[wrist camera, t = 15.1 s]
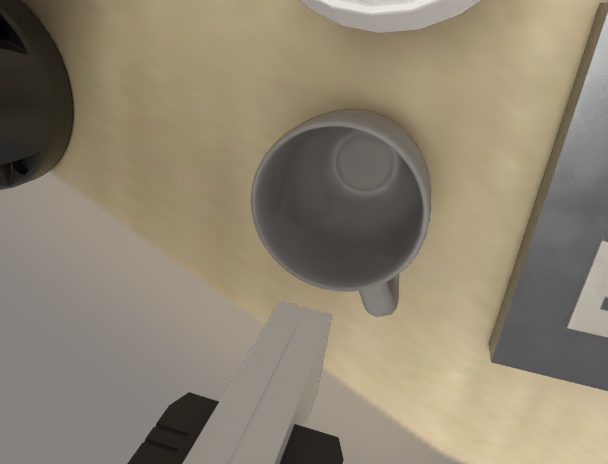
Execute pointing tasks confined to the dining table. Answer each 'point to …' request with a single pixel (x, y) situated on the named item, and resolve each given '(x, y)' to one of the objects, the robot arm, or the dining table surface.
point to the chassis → (566, 244)
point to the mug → (344, 204)
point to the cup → (388, 12)
